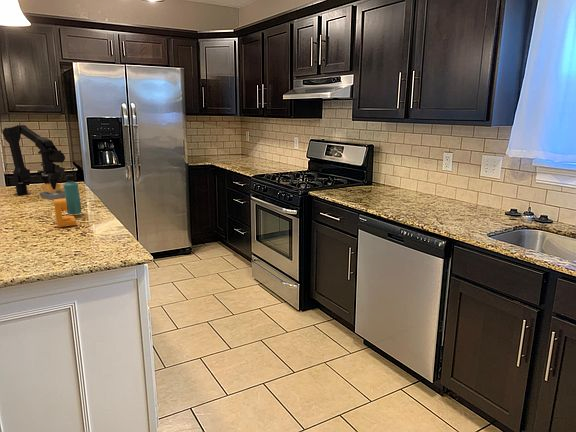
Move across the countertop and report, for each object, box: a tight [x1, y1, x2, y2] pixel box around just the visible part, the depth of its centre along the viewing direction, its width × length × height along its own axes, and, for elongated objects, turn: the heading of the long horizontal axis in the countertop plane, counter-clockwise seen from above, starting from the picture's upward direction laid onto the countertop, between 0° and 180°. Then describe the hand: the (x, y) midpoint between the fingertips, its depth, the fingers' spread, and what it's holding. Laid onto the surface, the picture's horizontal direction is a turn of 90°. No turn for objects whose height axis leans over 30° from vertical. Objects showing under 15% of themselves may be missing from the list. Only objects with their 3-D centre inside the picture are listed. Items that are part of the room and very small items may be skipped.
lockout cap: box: [41, 182, 62, 192], centre depth 247 cm, size 7×7×4 cm
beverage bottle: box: [63, 174, 82, 215], centre depth 204 cm, size 6×7×20 cm
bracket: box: [53, 198, 77, 228], centre depth 189 cm, size 11×7×12 cm, turn 31°
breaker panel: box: [39, 189, 65, 201], centre depth 249 cm, size 14×12×3 cm
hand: (51, 188), depth 247 cm, fingers closed on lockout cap, 7 cm apart
